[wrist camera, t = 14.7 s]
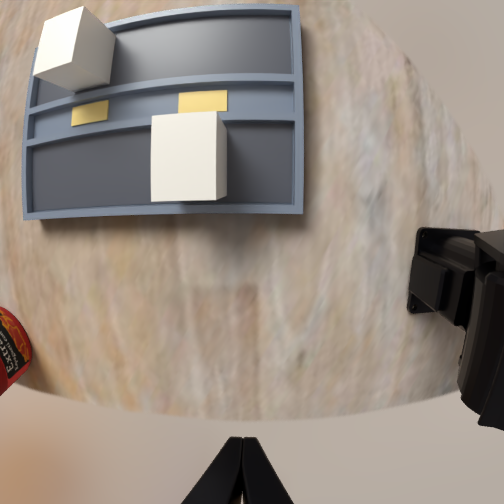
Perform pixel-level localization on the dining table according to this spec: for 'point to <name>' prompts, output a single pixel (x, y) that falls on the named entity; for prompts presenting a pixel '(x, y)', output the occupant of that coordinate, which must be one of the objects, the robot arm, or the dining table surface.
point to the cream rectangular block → (75, 51)
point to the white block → (188, 157)
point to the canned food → (12, 350)
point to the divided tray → (172, 102)
